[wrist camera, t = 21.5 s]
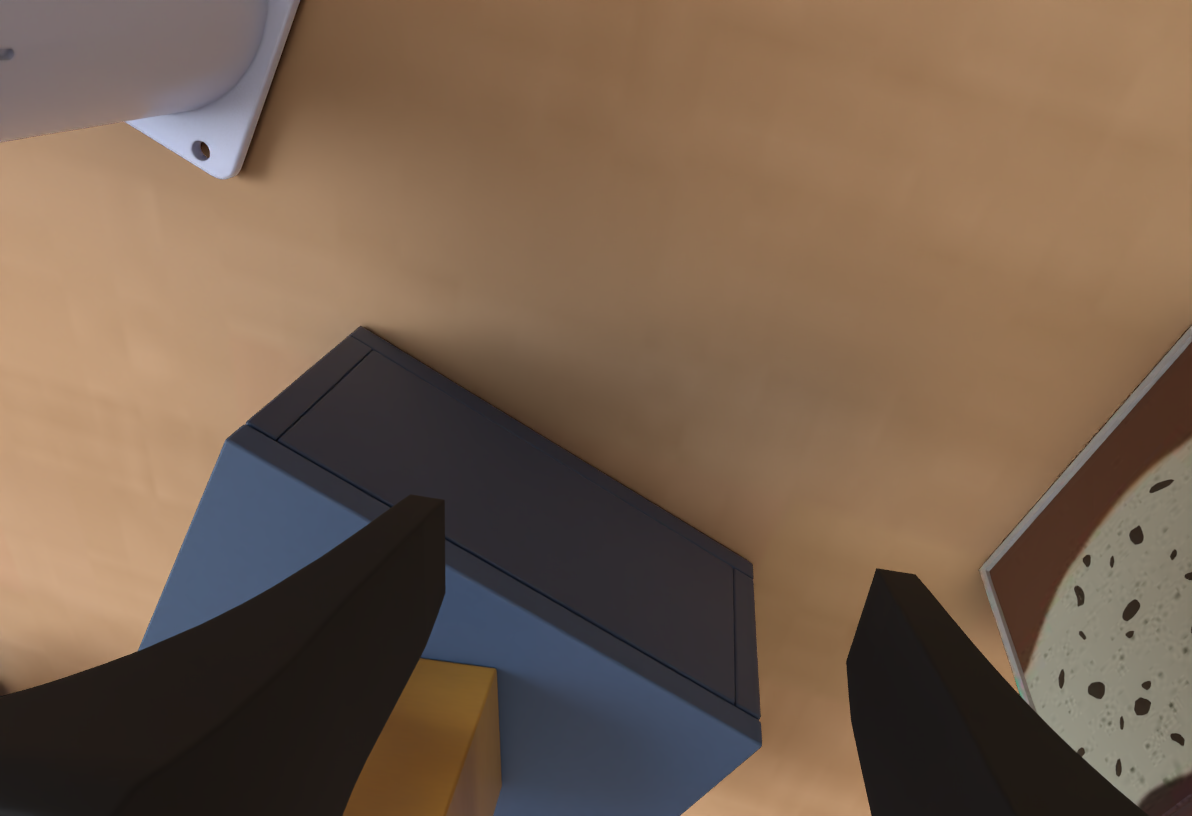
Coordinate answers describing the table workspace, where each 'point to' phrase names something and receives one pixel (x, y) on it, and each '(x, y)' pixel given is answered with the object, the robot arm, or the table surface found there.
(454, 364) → the table surface
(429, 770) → the block
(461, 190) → the table surface
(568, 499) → the toy box
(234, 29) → the robot arm
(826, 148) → the table surface
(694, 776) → the lid
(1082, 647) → the food container
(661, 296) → the table surface
